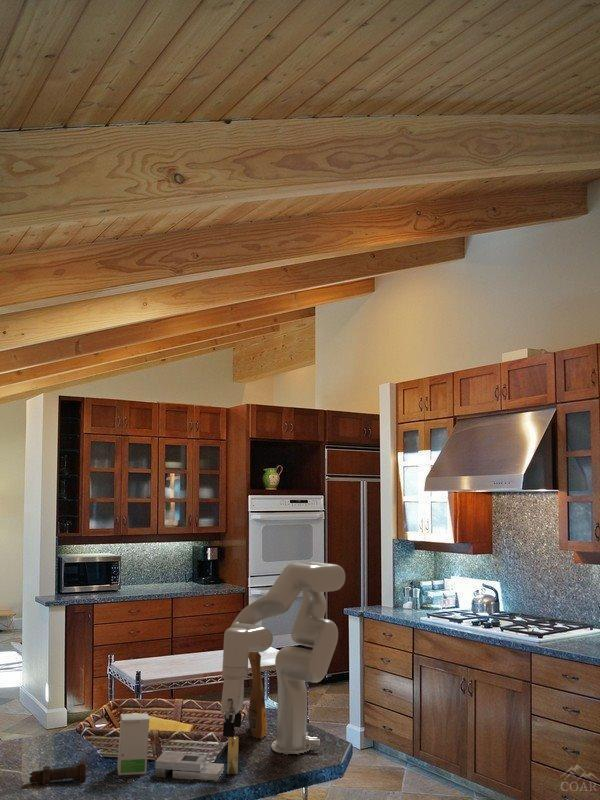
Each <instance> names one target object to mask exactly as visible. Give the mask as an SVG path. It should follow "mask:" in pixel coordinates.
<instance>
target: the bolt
mask: <svg viewBox="0 0 600 800" xmlns="http://www.w3.org/2000/svg"><path fill="white" fill-rule="evenodd" d="M86 773H87V767H86V760H79V764H78V765H73V766H67V767H66V766H65V767H64V766H63V767H57V768H51V766H49V765H45V766H43V767H42V769H41V770H34V771H33V770H32V771H31V772H30V773H29V776H30V777H29V783H30V784H37V783H38V784H39V783H42V785H43V786H47V785H46V784H49V785H50V784H51V782H54V781H64V780H71V779H73V780H77V779H79V783H83V782H84V783H85V782H86V780H87V778H86V777H87V774H86Z"/></svg>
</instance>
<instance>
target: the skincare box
mask: <svg viewBox="0 0 600 800" xmlns="http://www.w3.org/2000/svg"><path fill="white" fill-rule="evenodd" d="M119 715H120V720H119V721H120V722H119V738H118V750H117V765H116V767H117V774H118V776H129V775H130V776H131V775H146V774H147V768H148V767H147V764H148V751H149V750H148V748H149V735H150V734H149V733H150V732H149V731H150V716H149V713H136V712H135V713H133V712H131V713H121V714H119Z"/></svg>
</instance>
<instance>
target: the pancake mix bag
mask: <svg viewBox="0 0 600 800" xmlns="http://www.w3.org/2000/svg"><path fill="white" fill-rule="evenodd" d="M261 659H262V655H261V654H260V652H249V657H248V662H249V664H250V667H251V674H252V675H251V676H252V677H251V678H252V685H251V691H250V696H249V697H250V698H249V705H248V724H249V729H250V730H249V731H250V733H251V735H252V736H253V737H252V736H251V737H252V738H254V737H256V738H255V739H258V738H260V739H259V740H262V739H263V738H265V737H264V736H266V737H267V732H268V721H267V719H268V718H267V709H266V700H265V692H264V687H263V686H264V685H263V681H262V673H261V667H262V666H261V662H262V661H261ZM262 737H263V738H262Z"/></svg>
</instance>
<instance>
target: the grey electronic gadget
mask: <svg viewBox="0 0 600 800" xmlns="http://www.w3.org/2000/svg"><path fill="white" fill-rule="evenodd" d="M183 753H184V752H176V751H175V752H174V751H163V752H162V753H161V754H160V755H159V757H157V759H156V760H155V764H154V765H155V766H154V777H155V778H156V777H157V778H166V777H167V776H168V774H169V773H170V772H171V770H172V779H182V780H184V779H185V780H193V779H204V780H203V781H207V780H214V781H213V782H219V780H218V779H220V778H221V777H222V775H223V774H224V772H223V771H225V763H218V762H217V763H215V762H206V760H207V761H208V754H204V755H202V754H201V753H190V754H183ZM199 754H201V755H199ZM221 774H222V775H221ZM220 776H221V777H220ZM219 777H220V778H219Z"/></svg>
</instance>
